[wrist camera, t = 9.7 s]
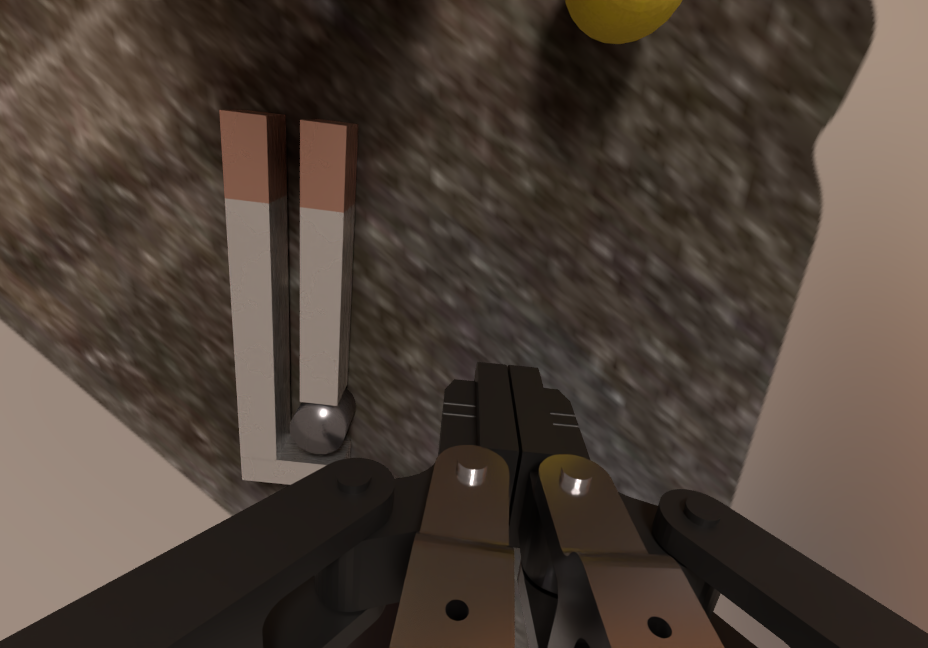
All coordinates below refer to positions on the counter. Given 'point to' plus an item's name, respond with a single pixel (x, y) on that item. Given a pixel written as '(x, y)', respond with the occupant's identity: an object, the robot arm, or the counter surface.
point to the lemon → (620, 18)
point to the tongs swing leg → (325, 282)
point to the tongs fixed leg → (262, 296)
